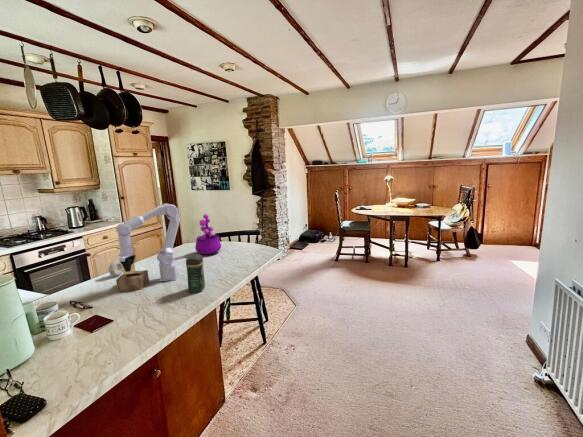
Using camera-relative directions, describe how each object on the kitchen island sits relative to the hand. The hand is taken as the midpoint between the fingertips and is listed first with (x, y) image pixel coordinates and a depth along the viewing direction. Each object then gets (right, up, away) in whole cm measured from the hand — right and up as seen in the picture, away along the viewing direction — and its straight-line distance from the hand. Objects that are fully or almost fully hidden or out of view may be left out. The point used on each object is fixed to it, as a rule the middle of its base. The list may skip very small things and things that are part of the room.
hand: (129, 270), depth 156 cm
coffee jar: (+37, -10, -2) cm, 39 cm away
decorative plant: (+25, +1, +64) cm, 68 cm away
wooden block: (0, -1, 0) cm, 1 cm away
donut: (-19, -8, +21) cm, 30 cm away
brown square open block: (0, -10, +5) cm, 11 cm away
